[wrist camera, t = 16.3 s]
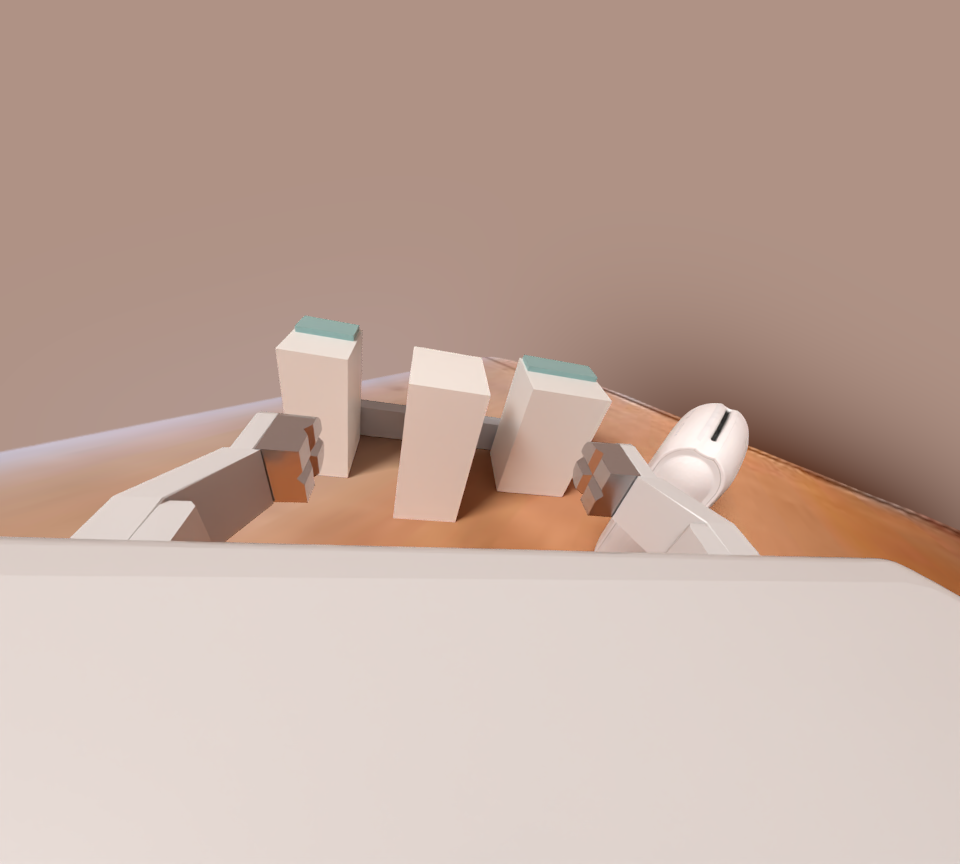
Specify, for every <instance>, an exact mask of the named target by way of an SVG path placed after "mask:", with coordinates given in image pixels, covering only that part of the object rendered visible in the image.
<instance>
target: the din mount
mask: <svg viewBox="0 0 960 864" xmlns="http://www.w3.org/2000/svg"><path fill="white" fill-rule="evenodd" d="M362 331H363V330H359V325H355V324H349V323H344V322H338V321H332V320H327V319H321V318H315V317H310V316H304V317H303V318H302V319H301V320H300V321H299V322H298V323H297V324H296V325H295V329H294V330H293V331H292V332H291V333H290V334H289V335H288V336H287V337H286V338H285V339H284V340H283V341H282V342H281V343H280V344H279V345H278V346H277V347H276V356H277V363H278V371H279V379H280V387H281V395H282V402H283V410H284V414H293V415H302V416H311V417H319V419H320V420H321V426H322V431H321V433H320V436H319V438H320V439H321V440H322V441H323V442H324V459H323V464H322V468H321V471H320V473H319V474H318V475H321V476H332V477H343V478H348V476H349V472H350V469H351V466H352V463H353V459H354V456H355V453H356V449H357V446H358V443H359V440H360V435H366V436H375V437H383V438H392V439H401V440H402V438H403V429H404V421H405V412H406V405H398V404H391V403H384V402H376V401H369V400H362V399H361V373H362V335H363V334H362V333H363V332H362ZM596 380H597V377H596V375H595V374H594V373H593V371H592V370H591V369H590V368H589V366H584V365H578V364H573V363H566V362H562V361H556V360H550V359H545V358H539V357H534V356H528V355H524V356H523V358H519V362H518V365H517V368H516V371H515V374H514V378H513V381H512V384H511V387H510V390H509V394H508V397H507V400H506V403H505V406H504V410H503V413H502V416H501V418H494V417H487V416H485V417H484V421H483V425H482V428H481V432H480V435H479V439H478V443H477V446H476V448H479V449H487V450H491V451H490V456H491V462H492V467H493V473H494V478H495V484H496V489H497V491H500V492H511V493H522V494H533V495H545V496H556V497H562V496H563V494H564V493H565V491H566V489H567V487H568V485H569V483H570V481H571V479H572V477H573V469H574V466H575V464H576V461H578V460H579V459H581V458H582V457H583V455H582V452H581V451H582V448H583V446H584V445H585V444H586V443H587V442H591V441H592V439H593V437H594V435H595V433H596V431H597V429H598V428H599V426H600V424H601V422H602V420H603V418H604V416H605V414H606V412H607V410H608V408H609V406H610V405H611V403H612V401H611V399H610V398H609V397H608V396H607V394H606V393H605V392H604V390H603V389H602V388H601V386H600V385H599V384H598V383H597V381H596Z"/></svg>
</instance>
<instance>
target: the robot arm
mask: <svg viewBox="0 0 960 864" xmlns="http://www.w3.org/2000/svg"><path fill="white" fill-rule="evenodd" d="M321 431H322V426H321V420H320V419H319V417H311V416H302V415H293V414H283V413H281V414H280V413H273V412H262V411H261V412H258V413H256V415H255V416H254V417H253V418H252V420H251V421H250V422H249V424H248V425H247V426H246V427H245V429H244V430H243V431H242V433H241V434H240V435H239V436H238V438H237V439H236V440H235V442H234V443H233V444H232V445H231V447H230V448H229V447H223V448H220V449H218V450H216V451H214V452H211V453H209V454H207V455H205V456H202V457H200V458H198V459H196V460H193V461H191V462H189V463H187V464H184V465H182V466H180V467H178V468H175V469H173V470H171V471H169V472H166V473H164V474H162V475H160V476H157V477H155V478H153V479H151V480H148V481H146V482H144V483H141V484H139V485H137V486H135V487H132V488H130V489H128V490H126V491H123V492H121V493H119V494H117V495H114V496H113V497H112V498H111V499H109V500H108V501H107V502H106V503H105V504H104V505H103V506H102V507H101V508H100V509H99V510H98V511H97V512H96V513H95V514H94V515H93V516H92V517H91V518H90V519H89V520H88V521H87V522H86V523H85V524H84V525H83V526H82V527H81V528H80V529H79V530H78V531H77V532H76V533H75V534H74V535H73V536H72V537H70V538H35V537H0V864H960V596H958V595H956V594H955V593H953V592H951V591H949V590H948V589H946V588H944V587H943V586H941V585H939V584H937V583H935V582H933V581H932V580H930V579H928V578H926V577H924V576H922V575H921V574H919V573H917V572H915V571H913V570H911V569H909V568H907V567H905V566H903V565H901V564H898V563H896V562H893V561H890V560H886V559H878V558H843V557H802V556H762V555H760V554H759V553H758V552H757V551H756V550H755V548H754V547H753V546H752V545H751V544H750V542H749V541H748V540H747V539H746V538H745V537H744V535H743V534H742V533H741V532H740V531H739V529H738V528H737V527H736V526H735V525H734V524H733V523H731V522H730V521H728V520H727V519H725V518H723V517H722V516H720V515H719V514H717V513H716V512H714V511H713V510H711V509H709V508H708V507H706V506H705V505H703V504H702V503H700V502H698V501H697V500H695V499H694V498H692V497H691V496H689V495H687V494H686V493H684V492H683V491H681V490H680V489H678V488H676V487H675V486H673V485H672V484H670V483H669V482H667V481H665V480H664V479H662V478H657V477H656V475H655V474H654V473H653V471H652V470H651V468H650V467H649V466H648V464H647V463H646V462H645V460H644V459H643V458H642V456H641V455H640V453H639V452H638V451H637V449H636V448H635V447H634V446H633V445H631V444H618V443H616V444H612V443H600V442H587V443H586V444H585V445H584V446H583V448H582V451H581V452H582V455H583V457H582V458H581V459H579V460H578V461H576V464H575V466H574V469H573V482H574V485H575V488H576V489H577V490H578V491H579V492H580V493H582V494H583V495H582V497H581V501H582V504H583V506H584V508H585V510H586V513H587V515H589V516H602V517H612V519H613V520H614V521H615V522H616V523H617V524H618V525H619V526H620V527H621V528H622V529H623V530H624V531H625V532H626V533H627V534H628V535H629V536H630V537H631V538H632V539H633V540H634V541H636V542H637V543H638V544H639V545H640V546H641V547H642V548H643V549H644V550H645V551H646V552H647V553H638V552H597V551H559V550H521V549H479V548H438V547H397V546H356V545H316V544H275V543H235V542H225V541H227V540H228V539H229V538H231V537H232V536H233V535H234V534H236V533H237V532H238V531H239V530H241V529H242V528H243V527H244V526H246V525H247V524H248V523H250V522H251V521H252V520H253V519H255V518H256V517H257V516H258V515H260V514H261V513H262V512H263V511H265V510H266V509H267V508H269V507H270V506H271V505H272V504H273V502H303V503H308V500H309V498H310V495H311V493H312V490H313V488H314V486H315V483H314V477H315V476H316V475H318V474H319V473H320V471H321V468H322V464H323V459H324V442H323V441H322V440H321V439H320V438H319V436H320V433H321Z"/></svg>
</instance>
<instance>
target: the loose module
mask: <svg viewBox="0 0 960 864" xmlns="http://www.w3.org/2000/svg"><path fill="white" fill-rule="evenodd" d="M489 400H490V391H489V387H488V383H487V378H486V374H485V370H484V366H483V361H482V358H479V357H473V356H467V355H462V354H456V353H451V352H444V351H439V350H433V349H427V348H421V347H416V346H415V347H414V352H413V359H412V366H411V372H410V379H409V386H408V395H407V403H406V412H405V421H404V429H403V438H402V446H401V455H400V463H399V472H398V481H397V489H396V498H395V506H394V515H393V518H400V519H415V520H430V521H444V522H455V521H456V518H457V514H458V510H459V507H460V503H461V500H462V496H463V493H464V489H465V485H466V482H467V478H468V475H469V471H470V468H471V464H472V460H473V457H474V453H475V450H476V446H477V443H478V439H479V435H480V432H481V428H482V425H483V421H484V417H485V414H486V410H487V407H488V403H489Z"/></svg>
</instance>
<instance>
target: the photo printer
mask: <svg viewBox="0 0 960 864" xmlns="http://www.w3.org/2000/svg"><path fill="white" fill-rule="evenodd" d="M748 438H749V430H748V425H747V423H746V420H745V418H744V417H743V416H742V415H741V413H740V412H739V411H736V410H731V409H729V408H727V407H725V406H724V405H723V404H720V403H711V404H705V405H701V406H698V407H696V408H694V409H692V410H691V411H689V412H688V413H687V414H686V415H684V417H682V418H681V419H680V421H679V422H678V423H677V424H676V425H675V427H674V428H673V429H672V430H671V432H670V433H669V435H668V436H667V437H666V439H665V440H664V442H663V443H662V445H661V446H660V448H659V449H658V451H657V452H656V453H655V455H654V456H653V458H652V459H651V461H650V462H649V464H648V466H649V467H650V468H651V470H652V471H653V473H654V474H655V475H656V477H657V478H662V479H664V480H665V481H667V482H669V483H670V484H672V485H673V486H675V487H676V488H678V489H680V490H681V491H683V492H684V493H686V494H687V495H689V496H691V497H692V498H694V499H695V500H697V501H698V502H700V503H702V504H703V505H705V506H706V507H708V508H710V507H711V506H712V505H713V504H714V503H715V502H716V501H717V500H718V499H719V498H720V497H721V495H722V494H723V493H724V492H725V491H726V490H727V489H728V488H729V486H730V485H731V484H732V482H733V480H734V479H735V477H736V475H737V473H738V471H739V469H740V467H741V465H742V462H743V460H744V457H745V454H746V451H747V448H748ZM594 551H597V552H638V553H647V552H646V551H645V550H644V549H643V548H642V547H641V546H640V545H639V544H638V543H637V542H636V541H634V540H633V539H632V538H631V537H630V536H629V535H628V534H627V533H626V532H625V531H624V530H623V529H622V528H621V527H620V526H619V525H618V524H617V523H616V522H615V521H614V520H613V519H612V518H611V520H610V521H609V523H608V524H607V526H606V528H605V529H604V531H603V532H602V534H601V536H600V538H599V540H598V542H597V544H596V547H595V550H594Z"/></svg>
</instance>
